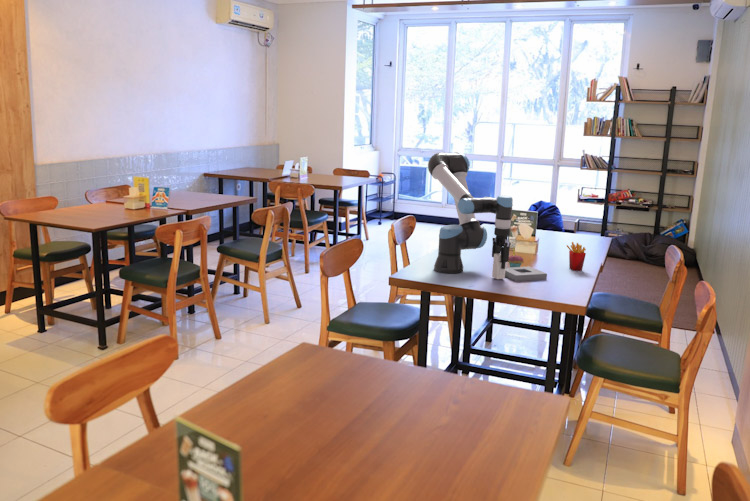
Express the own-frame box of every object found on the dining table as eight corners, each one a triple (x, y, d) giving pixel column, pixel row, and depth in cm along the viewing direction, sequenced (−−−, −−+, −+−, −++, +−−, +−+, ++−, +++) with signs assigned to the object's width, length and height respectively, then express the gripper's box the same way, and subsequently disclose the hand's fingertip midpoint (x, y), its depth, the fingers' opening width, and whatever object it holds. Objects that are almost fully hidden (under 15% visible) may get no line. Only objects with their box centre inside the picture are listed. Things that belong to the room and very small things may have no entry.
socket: (515, 281, 316) (515, 275, 315) (498, 273, 330) (499, 267, 330) (546, 279, 322) (547, 273, 321) (528, 271, 336) (529, 266, 336)
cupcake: (513, 270, 338) (515, 248, 335) (503, 267, 345) (505, 245, 343) (526, 269, 342) (528, 247, 339) (515, 266, 349) (517, 244, 347)
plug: (496, 279, 316) (498, 255, 314) (492, 276, 320) (494, 253, 318) (504, 278, 318) (506, 255, 315) (500, 276, 322) (501, 253, 319)
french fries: (578, 268, 349) (581, 241, 346) (585, 271, 342) (588, 244, 338) (563, 268, 348) (566, 241, 345) (570, 271, 340) (573, 244, 337)
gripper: (518, 230, 307) (514, 277, 312) (500, 224, 323) (496, 268, 328) (505, 231, 304) (501, 278, 309) (487, 224, 321) (483, 269, 326)
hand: (498, 273), depth 319 cm, fingers closed on plug, 4 cm apart
